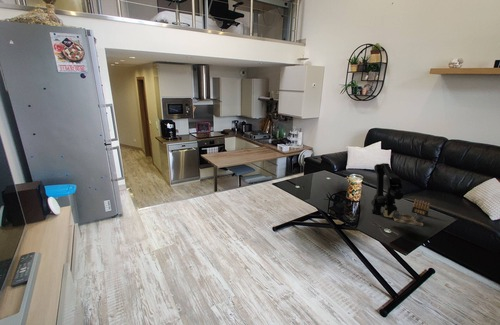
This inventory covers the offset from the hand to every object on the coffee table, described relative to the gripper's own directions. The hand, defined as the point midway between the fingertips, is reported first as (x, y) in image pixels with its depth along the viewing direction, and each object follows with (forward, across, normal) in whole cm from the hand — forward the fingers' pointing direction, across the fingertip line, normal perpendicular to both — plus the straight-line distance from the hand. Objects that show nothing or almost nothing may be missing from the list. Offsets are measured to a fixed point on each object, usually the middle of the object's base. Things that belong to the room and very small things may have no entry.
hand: (387, 214), depth 174 cm
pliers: (+9, +10, -4) cm, 14 cm away
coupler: (+1, 0, 0) cm, 1 cm away
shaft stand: (+8, -12, +16) cm, 22 cm away
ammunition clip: (+8, -28, +28) cm, 41 cm away
